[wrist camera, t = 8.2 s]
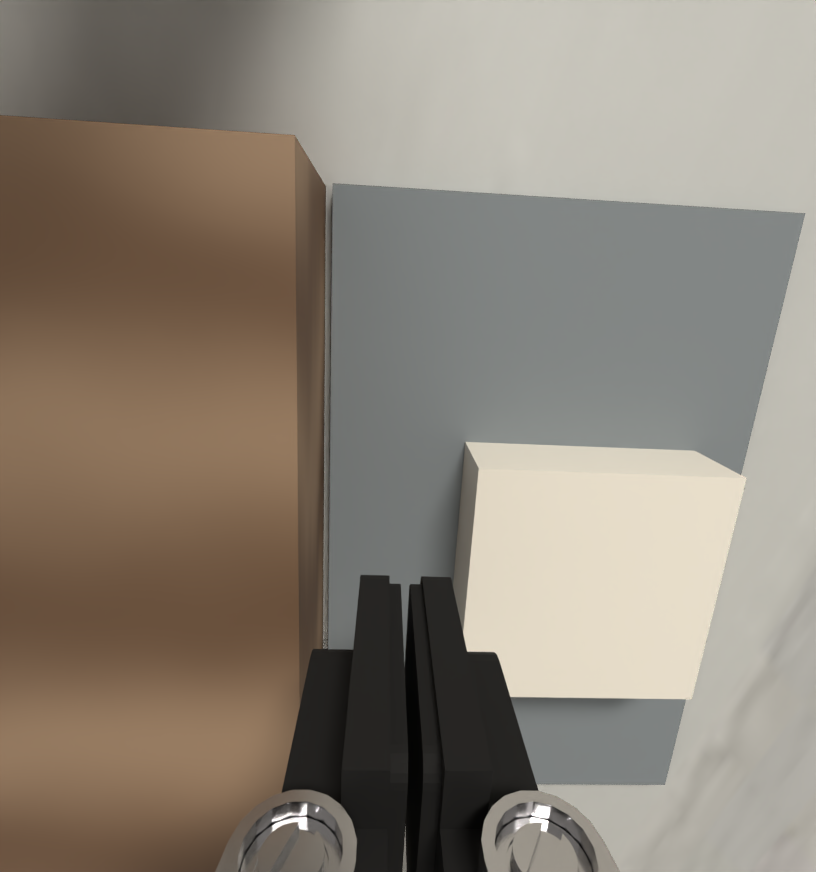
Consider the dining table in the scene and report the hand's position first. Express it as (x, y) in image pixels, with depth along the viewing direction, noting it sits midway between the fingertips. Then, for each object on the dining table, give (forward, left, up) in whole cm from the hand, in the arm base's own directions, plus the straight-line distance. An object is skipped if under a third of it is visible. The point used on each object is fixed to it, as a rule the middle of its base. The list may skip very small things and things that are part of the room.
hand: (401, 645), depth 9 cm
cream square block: (0, +5, -3) cm, 6 cm away
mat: (0, +4, -5) cm, 6 cm away
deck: (0, -7, -5) cm, 8 cm away
